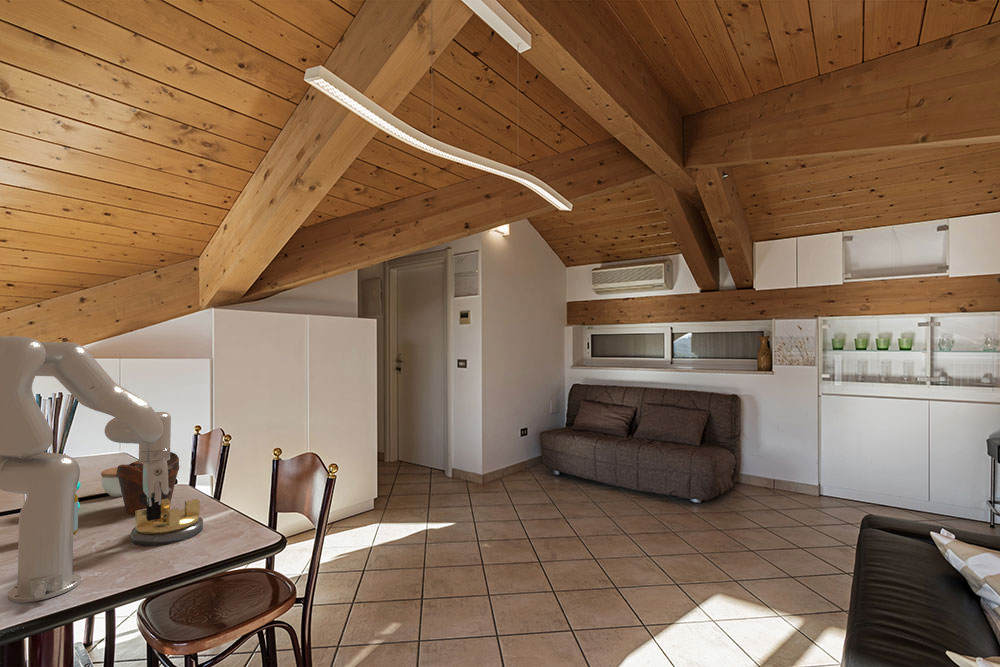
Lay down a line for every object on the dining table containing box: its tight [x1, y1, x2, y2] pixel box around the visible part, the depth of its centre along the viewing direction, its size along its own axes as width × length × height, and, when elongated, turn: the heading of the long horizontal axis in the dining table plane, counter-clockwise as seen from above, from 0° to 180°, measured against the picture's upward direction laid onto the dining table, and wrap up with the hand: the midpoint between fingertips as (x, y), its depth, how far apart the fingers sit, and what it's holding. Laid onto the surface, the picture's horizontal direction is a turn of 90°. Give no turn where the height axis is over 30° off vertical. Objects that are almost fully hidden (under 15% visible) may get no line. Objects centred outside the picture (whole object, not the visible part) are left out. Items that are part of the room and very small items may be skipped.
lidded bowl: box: [100, 463, 125, 498], centre depth 189 cm, size 13×13×11 cm
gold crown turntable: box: [134, 498, 201, 535], centre depth 150 cm, size 16×16×6 cm
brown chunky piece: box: [116, 451, 180, 515], centre depth 173 cm, size 18×20×18 cm
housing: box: [130, 516, 204, 547], centre depth 150 cm, size 18×18×6 cm
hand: (153, 518), depth 144 cm, fingers closed
